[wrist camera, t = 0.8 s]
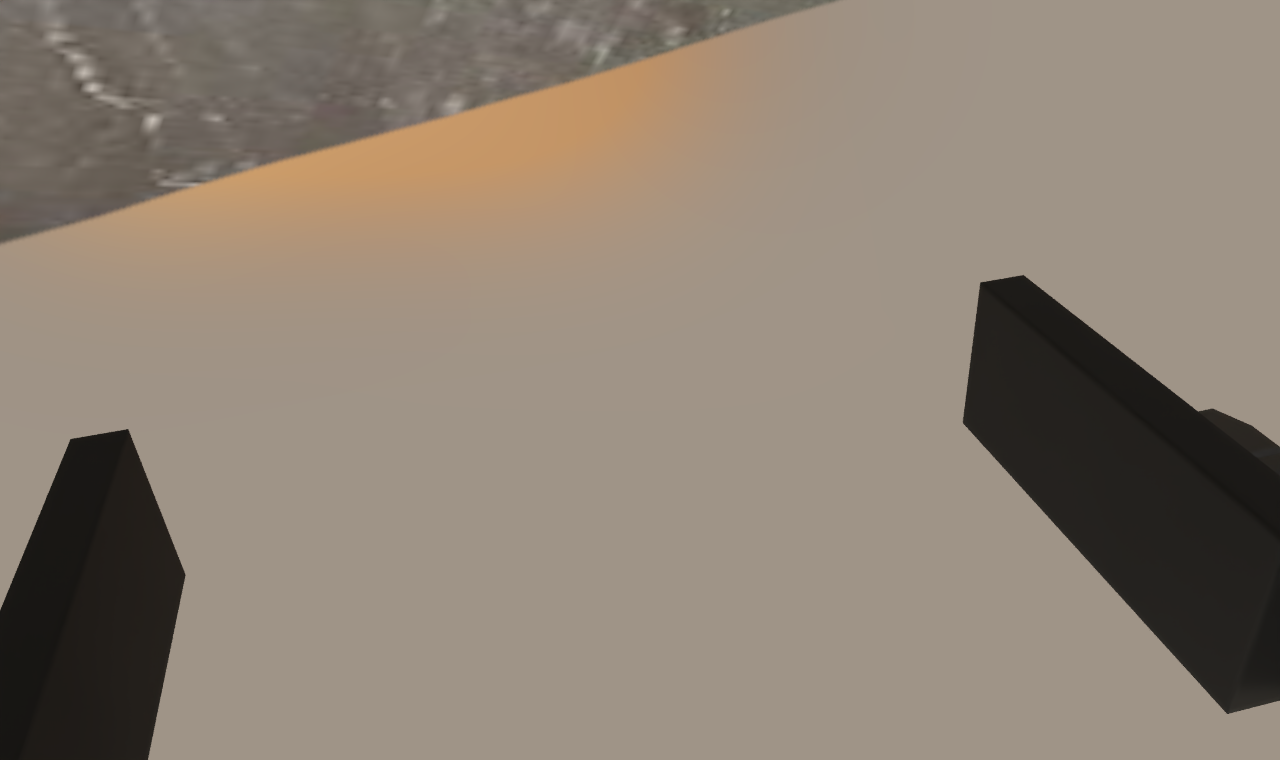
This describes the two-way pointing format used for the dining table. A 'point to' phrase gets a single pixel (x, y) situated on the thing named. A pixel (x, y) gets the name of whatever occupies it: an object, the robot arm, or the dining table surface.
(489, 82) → the dining table surface
